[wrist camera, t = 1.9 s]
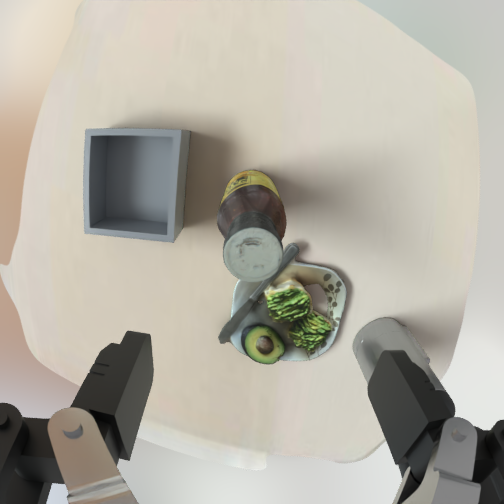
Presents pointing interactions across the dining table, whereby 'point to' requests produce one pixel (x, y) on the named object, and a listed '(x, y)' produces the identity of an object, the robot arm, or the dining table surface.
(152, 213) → the bottle caddy
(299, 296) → the salad plate
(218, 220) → the sauce bottle
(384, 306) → the dining table surface
